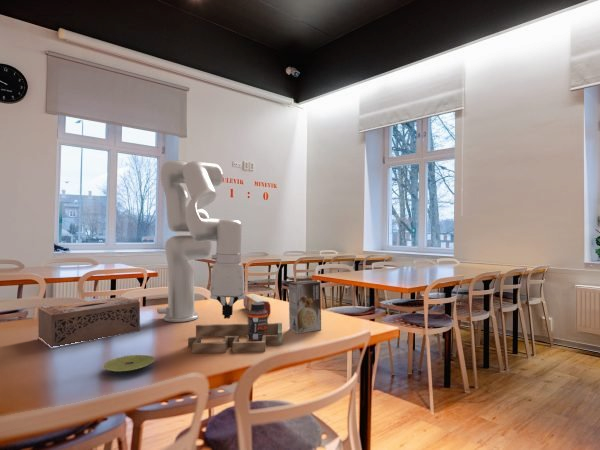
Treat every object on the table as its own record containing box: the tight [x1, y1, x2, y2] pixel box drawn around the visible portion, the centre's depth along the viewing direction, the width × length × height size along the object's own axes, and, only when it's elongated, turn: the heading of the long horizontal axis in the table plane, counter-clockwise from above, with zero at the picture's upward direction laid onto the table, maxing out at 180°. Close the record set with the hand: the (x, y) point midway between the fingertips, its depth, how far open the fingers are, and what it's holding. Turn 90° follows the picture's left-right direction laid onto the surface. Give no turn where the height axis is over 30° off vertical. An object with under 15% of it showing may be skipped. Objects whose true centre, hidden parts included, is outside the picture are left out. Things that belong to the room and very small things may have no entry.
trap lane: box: [187, 322, 283, 354], centre depth 114 cm, size 27×17×4 cm, turn 93°
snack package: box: [243, 293, 272, 317], centre depth 155 cm, size 21×7×7 cm, turn 21°
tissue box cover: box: [37, 296, 141, 347], centre depth 125 cm, size 26×14×10 cm, turn 137°
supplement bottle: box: [247, 302, 269, 342], centre depth 116 cm, size 6×6×11 cm
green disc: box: [102, 354, 155, 372], centre depth 93 cm, size 11×11×2 cm
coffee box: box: [288, 279, 322, 334], centre depth 128 cm, size 9×6×16 cm
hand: (227, 317), depth 120 cm, fingers closed
